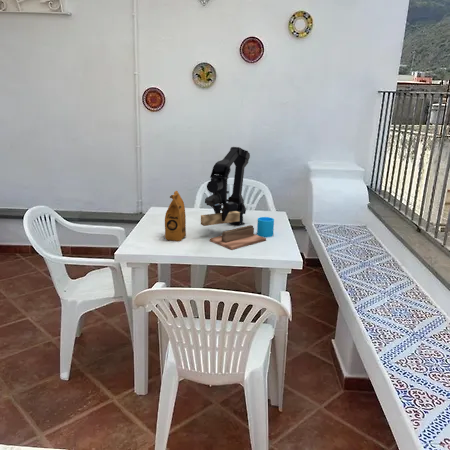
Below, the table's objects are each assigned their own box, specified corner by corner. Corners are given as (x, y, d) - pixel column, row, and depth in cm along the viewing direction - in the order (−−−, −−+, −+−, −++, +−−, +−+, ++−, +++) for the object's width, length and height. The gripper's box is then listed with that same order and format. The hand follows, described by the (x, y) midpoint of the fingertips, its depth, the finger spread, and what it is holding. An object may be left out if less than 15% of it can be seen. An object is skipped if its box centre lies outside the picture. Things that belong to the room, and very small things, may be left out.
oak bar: (203, 225, 213) (203, 217, 212) (200, 224, 216) (200, 215, 215) (239, 221, 222) (239, 212, 221) (236, 219, 225) (236, 211, 224)
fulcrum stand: (209, 240, 210) (209, 228, 209) (243, 232, 224) (243, 221, 222) (231, 249, 199) (232, 237, 197) (265, 240, 213) (266, 228, 211)
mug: (272, 237, 217) (273, 221, 215) (255, 236, 219) (256, 220, 216) (274, 230, 228) (275, 215, 226) (258, 229, 230) (259, 214, 228)
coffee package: (161, 240, 209) (160, 195, 203) (168, 233, 221) (168, 189, 214) (182, 242, 207) (181, 196, 201) (188, 234, 219) (188, 190, 213)
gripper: (196, 187, 216) (196, 218, 220) (220, 194, 202) (220, 227, 207) (213, 185, 223) (213, 215, 227) (238, 191, 209) (237, 223, 214)
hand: (220, 220), depth 219 cm, fingers closed on oak bar, 4 cm apart
